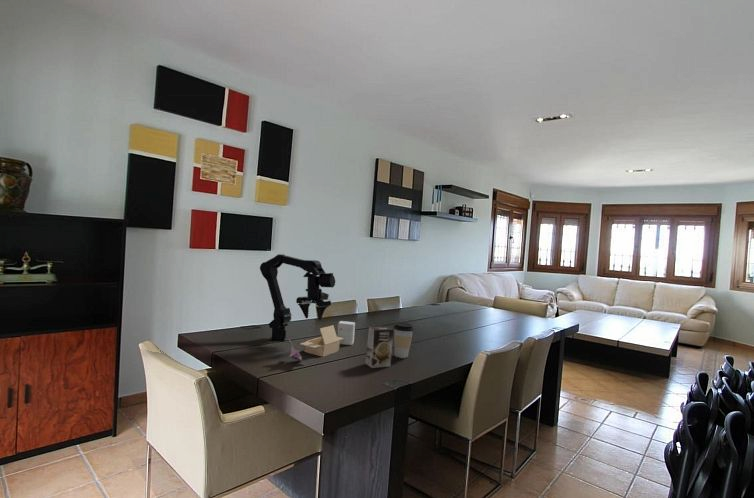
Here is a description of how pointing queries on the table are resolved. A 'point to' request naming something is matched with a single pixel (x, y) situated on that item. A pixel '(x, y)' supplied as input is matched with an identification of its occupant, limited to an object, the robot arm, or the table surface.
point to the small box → (346, 332)
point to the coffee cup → (402, 339)
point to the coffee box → (379, 347)
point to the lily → (295, 353)
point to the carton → (321, 346)
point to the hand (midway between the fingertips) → (313, 319)
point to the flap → (328, 334)
